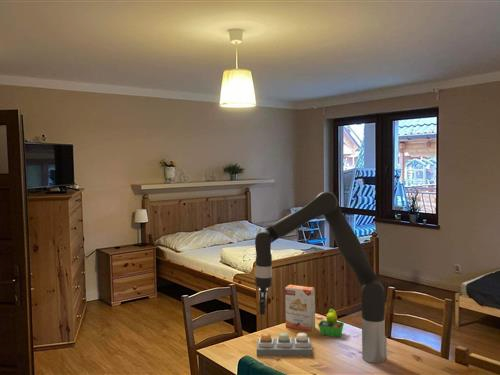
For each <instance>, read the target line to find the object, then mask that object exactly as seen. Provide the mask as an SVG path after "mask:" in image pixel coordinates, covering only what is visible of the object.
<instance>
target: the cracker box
mask: <svg viewBox="0 0 500 375" xmlns="http://www.w3.org/2000/svg"><path fill="white" fill-rule="evenodd" d="M284 290H285V291H284V292H285V294H284V296H285V300H284V302H285V327H286V328H291V329H295V328H296V330H301V331H308V332H312V331H314V329H315V328H316V299H315V298H316V290H315V287H313V286H305V285H295V284H288V285H287V286H285V288H284Z"/></svg>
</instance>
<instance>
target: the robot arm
mask: <svg viewBox="0 0 500 375" xmlns="http://www.w3.org/2000/svg"><path fill="white" fill-rule="evenodd" d="M344 215H345V214H344V213H343V211H342V209H341V206H340V204H339V201H338V198H337V196H336V195H335V193H334V192H331V191H328V190H326V191H321V192H320V193H319V194H318V195H316V197H315V198H313V200H312V201H310V202H309V203H308V204H306V205H305V206H303V207H302V208H300V209H298V210H296V211H294V212H292V213H290V214H288V215H286V216H284V217H282V218H281V219H279V220H278V221H276V222H275V223H273V224H272V225H270V226H268V227H265V228H264V229H261V230H260V231H259V232H258V233H257V234H256V236H255V240H254V247H255V252H256V253H255V256H256V257H255V269H254V285H255V286H256V287H257V288H259V289H258V302H259V304H258V305H259V314H260V315H263V316H264V315H265V314H266V305H267V304H266V302H267V300H268V299H267V298H268V290H269V288H271V287H272V284H273V267H272V266H273V265H272V264H273V263H272V262H273V256H272V252H271V251H272V250H271V246H272V243H274V242H275V241H277V240H278V239H280V238H283V237H285V236H287V235H289V234H291V233H292V232H294V231H296V230H297V229H299V228H300V227H302V226H303V225H304V224H307V223H308V222H310V221H312V220H314V219H315V218H318V217H321V216H323V217H324V218H325V220H326V221H327V223H328V226H329V227H330V230H331V233H332V237H333V239H334V241H335V245H336V246H337V249H338V250H339V252H340V255H341V256H342V258H343V259H344V260H345V262H346V263H347V264H348V266H349V267H350V268H351V270H352V271H353V272H354V274H355V276H356V278H357V280H358V282H359V285H360V287H361V289H360V290H361V294H360V295H361V343H362V344H361V346H362V347H361V351H362V352H361V354H362V355H361V356H362V360H363V361H365V362H368V363H373V364H377V363H378V364H379V363H383V362H384V361H386V360H387V358H388V357H387V356H388V355H387V354H388V353H387V352H388V349H387V346H388V345H387V342H388V341H387V335H385V334H386V333H385V331H386V330H385V327H386V326H385V321H386V320H385V319H386V318H385V313H386V310H385V309H386V308H385V306H386V305H385V303H386V302H385V301H386V300H385V298H386V297H385V296H386V295H385V294H386V293H385V287H384V284H383V283H382V282H381V280H380V278H378V275H377V274H376V273H375V271H374V269H373V268H372V267H371V266H372V265H371V264H370V262H369V259H368V257H367V254H366V252H365V250H364V248H363V246H362V244H361V242H360V240H359V238H358V236H357V235H356V233H355V231H354V229H353V228H352V226H351V225H350V224H349V222H348V221H347V219H346V218H345V216H344Z"/></svg>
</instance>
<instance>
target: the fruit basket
mask: <svg viewBox="0 0 500 375" xmlns="http://www.w3.org/2000/svg"><path fill="white" fill-rule="evenodd" d="M325 317H326V320H324V319H323V320H320V322H319V323H318V327H319V331H320V335H321V336H327V337H336V338H340V336H341V335H342V333H343V328H344V325H345V322H343V321H338V316H337V312H336V310H335V309H333V308H330V309H329V311H328V312H327V314H326V316H325Z"/></svg>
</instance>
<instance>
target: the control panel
mask: <svg viewBox="0 0 500 375" xmlns="http://www.w3.org/2000/svg"><path fill="white" fill-rule="evenodd" d="M256 343H257V344H256V357H313V346H312V340H311V338H309V337H307V340H306V341H299V340H297V337H294V338H292V337H289V340H287V341H281V340H279V337H277V338H274V337H271V340H269V341H263V340H261V337H259V338H257V342H256Z"/></svg>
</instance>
